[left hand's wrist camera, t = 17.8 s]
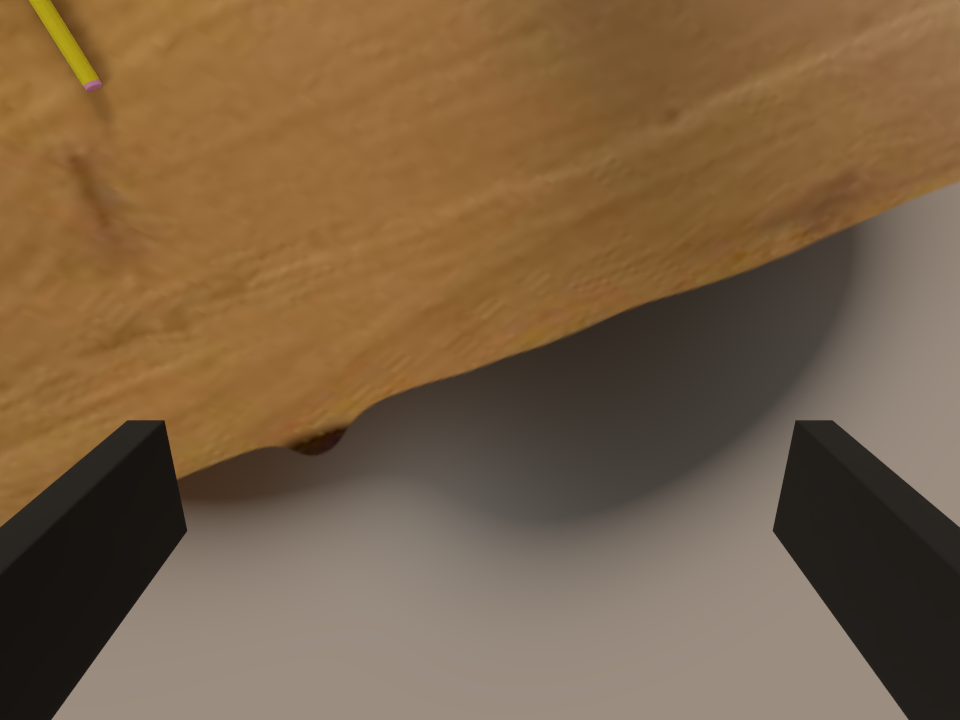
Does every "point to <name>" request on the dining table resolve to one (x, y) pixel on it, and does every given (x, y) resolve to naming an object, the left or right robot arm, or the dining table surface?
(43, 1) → the pencil
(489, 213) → the dining table surface
